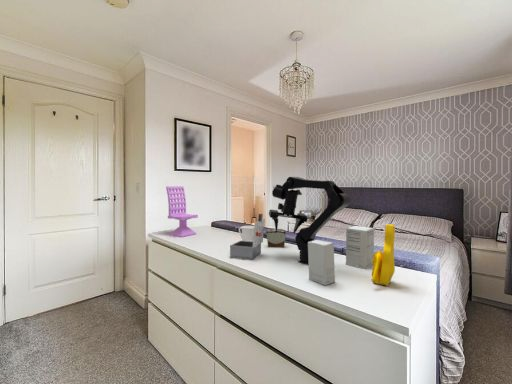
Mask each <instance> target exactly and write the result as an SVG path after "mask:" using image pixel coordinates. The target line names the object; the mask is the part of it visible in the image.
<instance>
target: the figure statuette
mask: <svg viewBox="0 0 512 384" xmlns="http://www.w3.org/2000/svg"><path fill="white" fill-rule="evenodd" d="M395 234H396V227H395V224H390V223H386V224H385V230H384V242H383V250H380V249H379V250H377V251H376V252H374V255H373V256H374V258H372V263H373V265H372V271H371V281H372V282H373V283H374V284H380V285H382V286H386V287H388V286H389V284H390V282H391V280H392V278H393V276H394V273H395V271H396V270H395V269H396V268H395V267H396V266H395V245H394V244H395Z"/></svg>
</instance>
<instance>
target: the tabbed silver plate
mask: <svg viewBox="0 0 512 384" xmlns="http://www.w3.org/2000/svg"><path fill="white" fill-rule="evenodd" d="M257 217H258V219H257V221H254V224H253V226H254V236H253V247H256V246H257V245H259V244H260V243H261V244H262V243H263V242H264V233H265V231H264V230H265V218H263V213H258V216H257Z"/></svg>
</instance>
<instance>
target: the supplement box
mask: <svg viewBox="0 0 512 384" xmlns="http://www.w3.org/2000/svg"><path fill="white" fill-rule="evenodd" d="M345 230H346V232H345V264H346V265H348V266H350V267H355V268H359V269H363V270H367V269H368V268H370V267H373V263H372V258H374V256H373V255H374V254H375V251H374V250H375V227H368V226H360V225H354V226H350V227H346V228H345Z"/></svg>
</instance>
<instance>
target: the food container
mask: <svg viewBox="0 0 512 384" xmlns="http://www.w3.org/2000/svg"><path fill="white" fill-rule="evenodd" d="M265 234H266V240H267V241H266V242H267V248H273V249H274V248H277V249H284V248H285V245H286V244H285V243H286V235H288V234H287V230H286V229H283V228H277V231H276V230H275V228H269V229H266V231H265Z"/></svg>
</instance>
